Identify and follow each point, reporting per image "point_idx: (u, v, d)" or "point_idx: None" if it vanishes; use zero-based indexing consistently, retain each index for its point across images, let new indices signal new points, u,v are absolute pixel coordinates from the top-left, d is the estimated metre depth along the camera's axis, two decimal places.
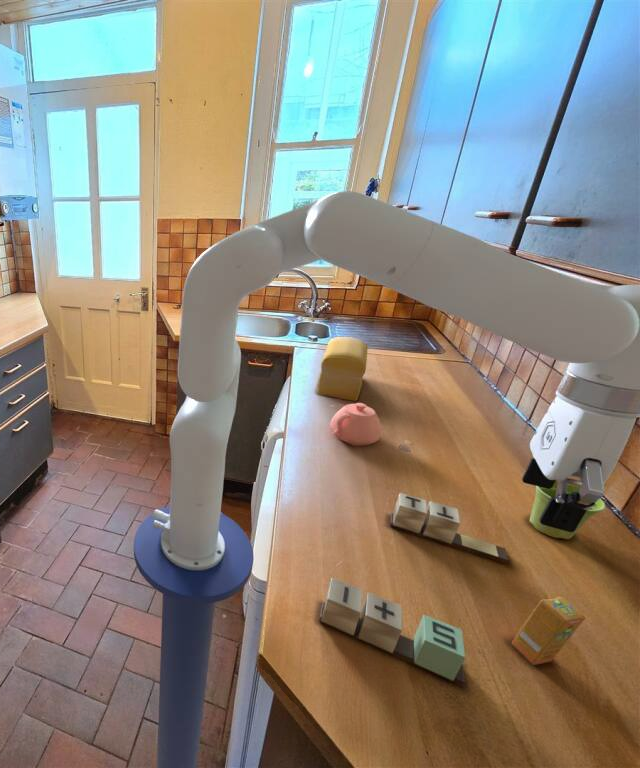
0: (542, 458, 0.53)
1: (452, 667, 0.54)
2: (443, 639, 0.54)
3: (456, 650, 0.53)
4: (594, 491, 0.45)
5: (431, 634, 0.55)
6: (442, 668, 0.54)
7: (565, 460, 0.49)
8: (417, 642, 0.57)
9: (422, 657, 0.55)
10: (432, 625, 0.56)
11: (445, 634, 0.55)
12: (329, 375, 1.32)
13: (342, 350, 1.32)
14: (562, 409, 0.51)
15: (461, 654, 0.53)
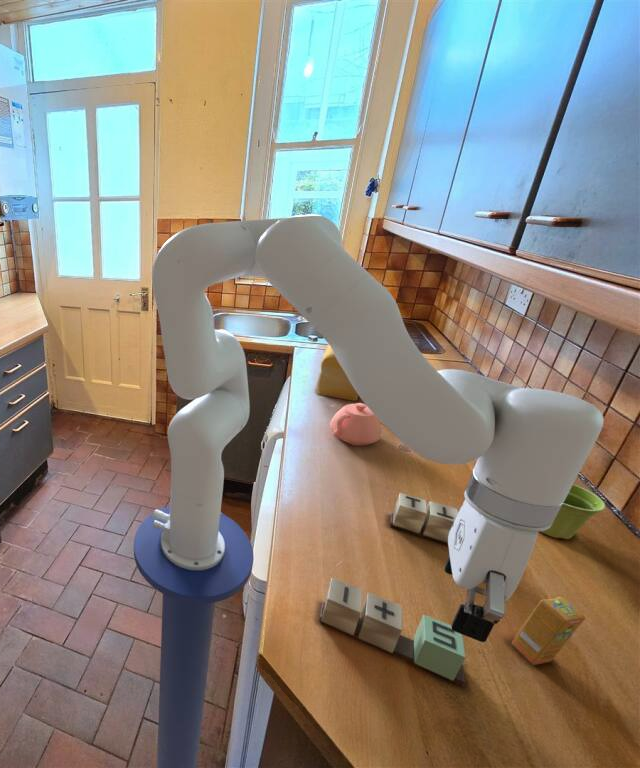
0: (453, 559, 0.49)
1: (452, 667, 0.54)
2: (443, 639, 0.54)
3: (456, 650, 0.53)
4: (495, 611, 0.42)
5: (431, 634, 0.55)
6: (442, 668, 0.54)
7: (471, 570, 0.46)
8: (417, 642, 0.57)
9: (422, 657, 0.55)
10: (432, 625, 0.56)
11: (445, 634, 0.55)
12: (329, 375, 1.32)
13: None
14: (470, 511, 0.48)
15: (461, 654, 0.53)
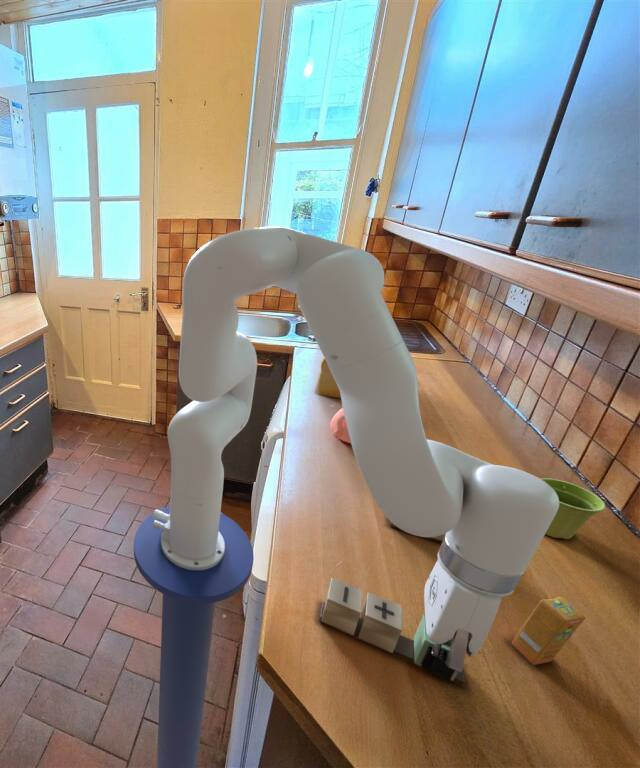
0: (427, 613, 0.54)
1: None
2: None
3: None
4: (454, 668, 0.48)
5: None
6: None
7: (441, 627, 0.50)
8: (417, 642, 0.57)
9: (422, 657, 0.55)
10: None
11: None
12: (329, 375, 1.32)
13: None
14: (443, 570, 0.52)
15: None
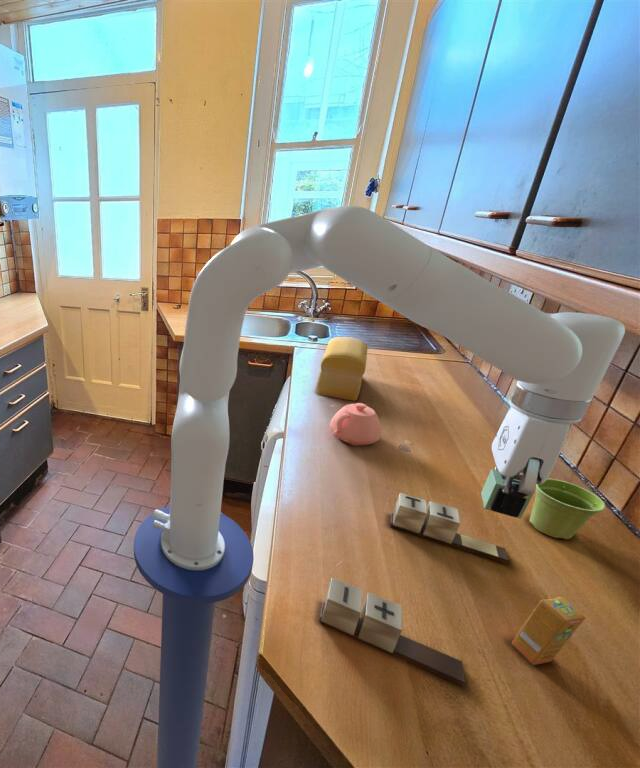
0: (498, 458, 0.61)
1: None
2: (512, 483, 0.62)
3: None
4: (527, 491, 0.56)
5: (501, 480, 0.63)
6: None
7: (514, 459, 0.57)
8: (486, 492, 0.65)
9: (492, 501, 0.63)
10: (500, 475, 0.64)
11: (513, 480, 0.63)
12: (329, 375, 1.33)
13: (341, 350, 1.32)
14: (514, 416, 0.60)
15: None
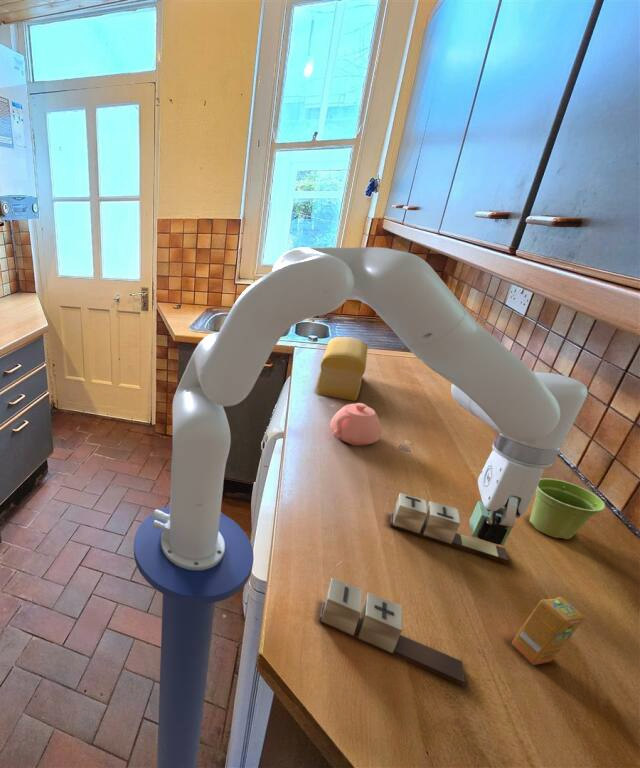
0: (483, 493, 0.71)
1: None
2: (496, 514, 0.71)
3: None
4: (507, 524, 0.65)
5: (486, 512, 0.72)
6: None
7: (497, 496, 0.67)
8: (473, 521, 0.74)
9: (478, 529, 0.72)
10: None
11: None
12: (329, 375, 1.33)
13: (341, 350, 1.32)
14: (496, 458, 0.69)
15: None
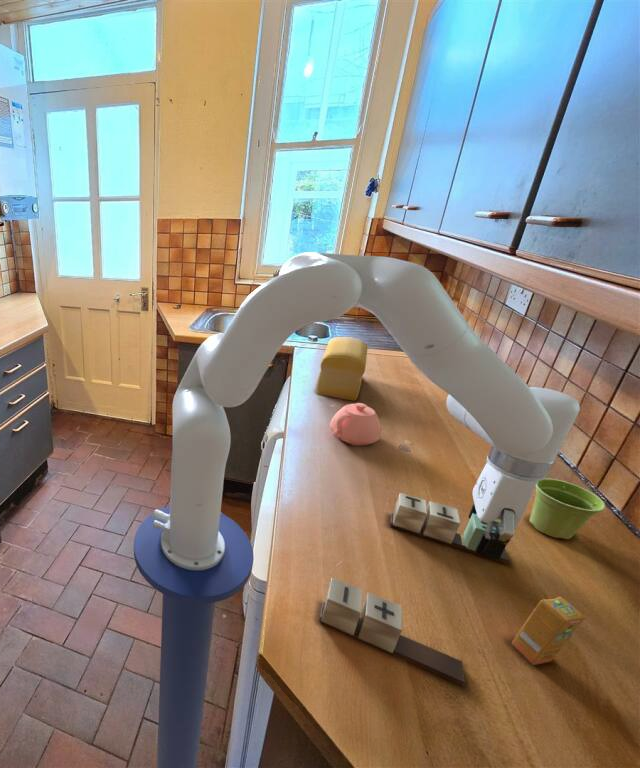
0: (477, 505, 0.72)
1: None
2: None
3: None
4: (507, 533, 0.65)
5: (480, 524, 0.73)
6: None
7: (491, 508, 0.68)
8: (468, 533, 0.76)
9: (472, 542, 0.74)
10: None
11: None
12: (328, 375, 1.33)
13: (341, 350, 1.32)
14: (491, 470, 0.70)
15: None
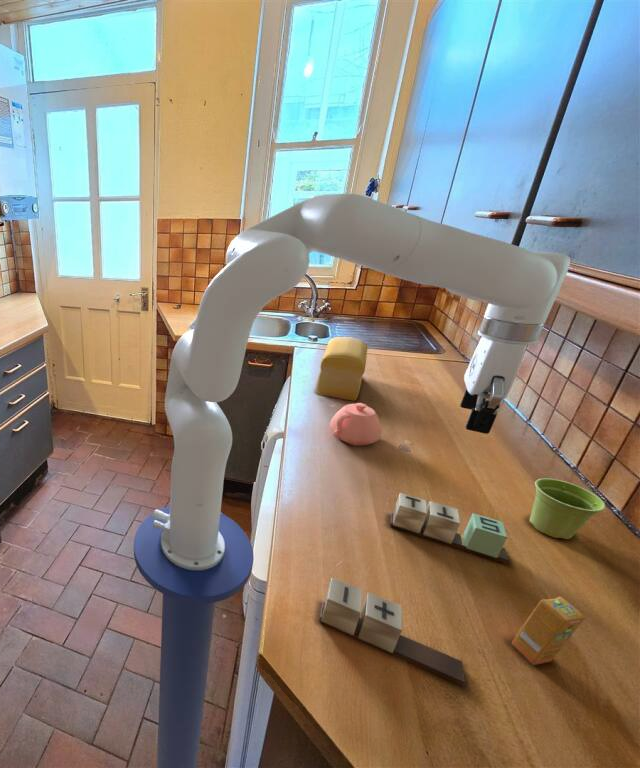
0: (468, 382, 0.71)
1: (497, 546, 0.72)
2: (489, 527, 0.73)
3: (499, 533, 0.71)
4: (496, 396, 0.64)
5: (480, 524, 0.73)
6: (488, 549, 0.73)
7: (481, 378, 0.68)
8: (468, 533, 0.76)
9: (472, 542, 0.74)
10: (480, 519, 0.74)
11: (490, 524, 0.73)
12: (328, 375, 1.33)
13: (341, 350, 1.32)
14: (481, 344, 0.70)
15: (504, 535, 0.71)
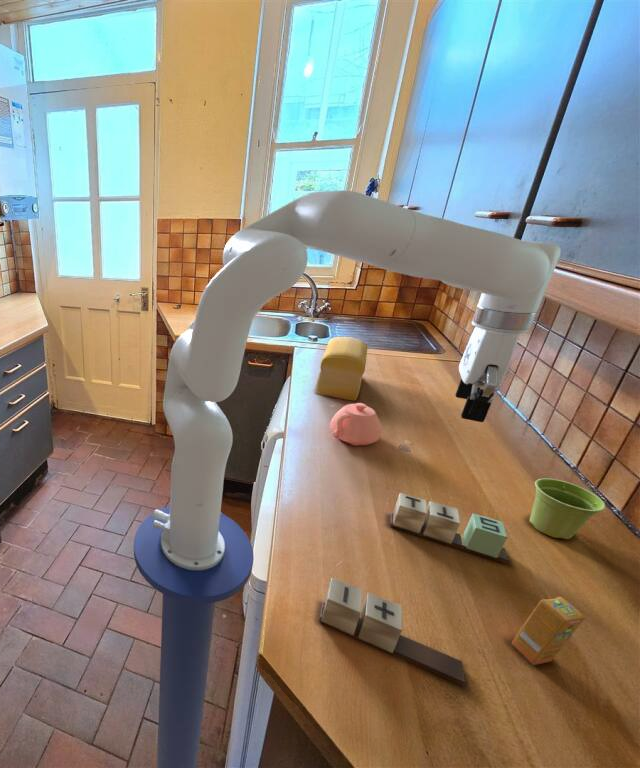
0: (463, 371, 0.72)
1: (497, 546, 0.72)
2: (489, 527, 0.73)
3: (499, 533, 0.71)
4: (491, 384, 0.65)
5: (480, 524, 0.73)
6: (488, 549, 0.73)
7: (475, 367, 0.68)
8: (468, 533, 0.76)
9: (472, 542, 0.74)
10: (480, 519, 0.74)
11: (490, 524, 0.73)
12: (328, 375, 1.33)
13: (341, 350, 1.32)
14: (475, 333, 0.71)
15: (504, 535, 0.71)
